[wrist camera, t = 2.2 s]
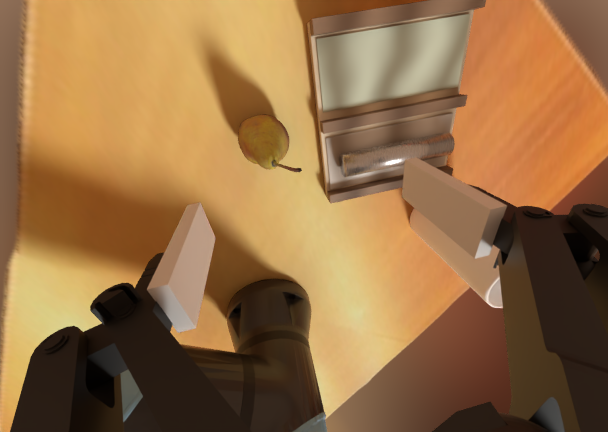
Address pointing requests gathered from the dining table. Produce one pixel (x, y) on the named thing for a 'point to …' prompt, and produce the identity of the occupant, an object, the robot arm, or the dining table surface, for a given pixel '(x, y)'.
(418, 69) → the rack
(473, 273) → the cup
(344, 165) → the rod
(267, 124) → the fruit
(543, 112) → the dining table surface
